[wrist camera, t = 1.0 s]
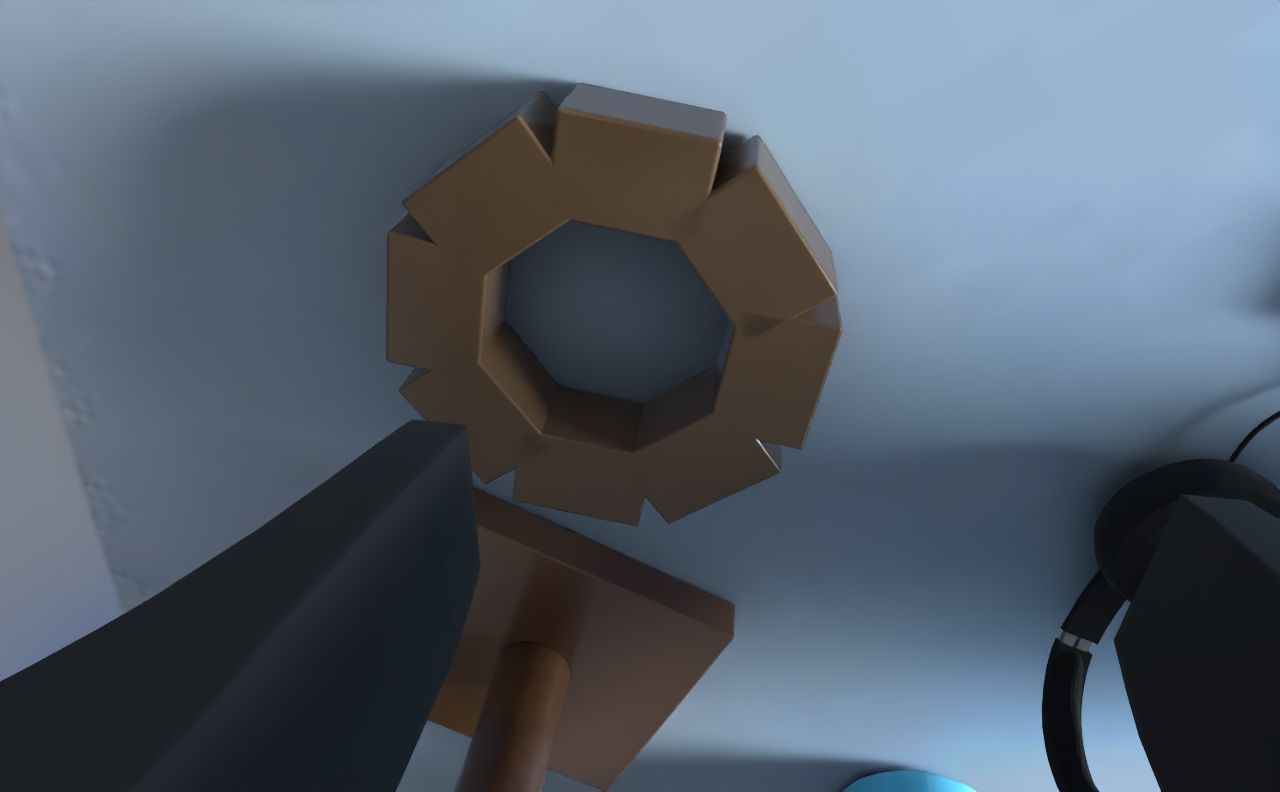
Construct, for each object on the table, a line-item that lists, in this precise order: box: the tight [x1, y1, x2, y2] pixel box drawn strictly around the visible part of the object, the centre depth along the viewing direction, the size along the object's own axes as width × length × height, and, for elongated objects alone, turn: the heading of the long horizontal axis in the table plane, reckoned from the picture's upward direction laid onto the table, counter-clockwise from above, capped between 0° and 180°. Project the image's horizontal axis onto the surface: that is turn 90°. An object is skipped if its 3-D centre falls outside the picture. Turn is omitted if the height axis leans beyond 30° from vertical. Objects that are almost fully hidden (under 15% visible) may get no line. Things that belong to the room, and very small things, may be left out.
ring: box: [386, 83, 842, 527], centre depth 18 cm, size 9×9×2 cm
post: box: [427, 488, 735, 792], centre depth 22 cm, size 8×8×6 cm
